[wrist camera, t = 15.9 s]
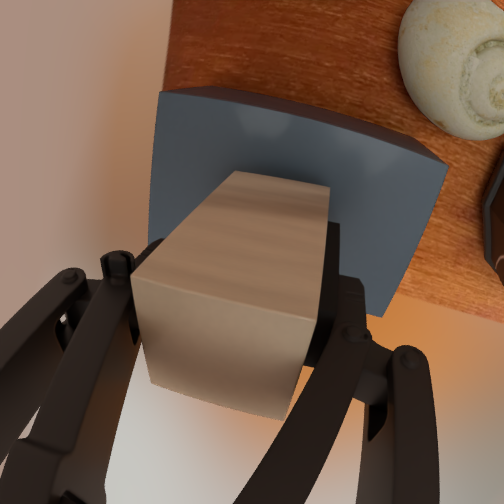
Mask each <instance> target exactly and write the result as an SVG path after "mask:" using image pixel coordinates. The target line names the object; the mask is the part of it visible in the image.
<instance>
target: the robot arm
mask: <svg viewBox="0 0 504 504" xmlns="http://www.w3.org/2000/svg"><path fill="white" fill-rule="evenodd" d="M164 240H165V239H164V238H160V239H158V240H156V241H154V242H152V243H151V244H150V245H149V246H148V247H147V248H146V249H145V250H144V251H143V252H142V253H141V254H140V255H139V256H138V257H137V258H136V259H134V256H133V254H131V253H130V252H128V251H123V250H122V251H121V250H119V251H112V252H109V253H107V254H105V255H103V256H102V257H101V258H100V261H101V267H102V272H103V277H104V278H103V279H102V280H94V279H86V274H85V273H84V271H83V270H82V269H80V268H68V269H65V270H62V271H61V272H59V273H58V274H57V275H56V276H55V277H53V278H52V279H51V280H50V281H49V282H48V283H47V284H46V285H45V286H44V287H43V288H42V289H40V290H39V291H38V292H37V293H36V294H35V295H34V296H33V297H32V298H31V299H30V300H29V301H28V302H27V303H26V304H25V305H24V306H23V307H22V308H21V309H20V310H19V311H18V312H17V313H16V314H15V315H14V316H13V317H12V318H11V319H10V320H9V321H8V322H7V323H6V324H5V325H4V326H3V327H2V328H1V329H0V465H1V463H2V462H3V460H4V459H5V457H6V456H7V454H8V453H9V454H8V457H7V460H6V463H5V466H4V469H3V472H2V475H1V478H0V504H106V493H105V488H104V487H105V486H104V484H105V478H106V473H107V468H108V464H109V460H110V456H111V451H112V447H113V443H114V439H115V435H116V431H117V427H118V423H119V419H120V415H121V411H122V407H123V404H124V400H125V397H126V393H127V389H128V386H129V382H130V378H131V375H132V371H133V368H134V365H135V361H136V358H137V355H138V352H139V348H140V345H141V342H142V340H141V335H140V330H139V325H138V320H137V314H136V309H135V303H134V297H133V291H132V285H131V278H130V276H131V274H132V273H133V272H134V271H135V270H136V269H137V268H138V267H139V266H140V265H141V264H142V262H143V261H144V260H145V259H146V258H147V257H148V256H149V255H150V254H151V253H152V252H153V251H154V250H155V249H156V248H157V247H158V246H159V245H160V244H161V243H162V242H163V241H164ZM339 264H340V223H336V222H331V221H328V223H327V234H326V245H325V255H324V265H323V274H322V283H321V292H320V300H319V308H318V315H317V322H316V325H315V329H314V332H313V335H312V338H311V342H310V345H309V348H308V351H307V354H306V358H305V361H304V364H303V365H304V366H309V367H314V370H313V372H312V374H311V376H310V378H309V380H308V382H307V383H306V385H305V387H304V389H303V391H302V393H301V394H300V396H299V398H298V400H297V402H296V403H295V405H294V407H293V409H292V411H291V412H290V414H289V416H288V418H287V419H286V421H285V423H284V424H283V426H282V428H281V430H280V431H279V433H278V435H277V437H276V438H275V440H274V441H273V443H272V445H271V446H270V448H269V449H268V451H267V453H266V454H265V456H264V458H263V459H262V461H261V463H260V464H259V465H258V467H257V469H256V470H255V472H254V473H253V475H252V476H251V478H250V479H249V481H248V482H247V484H246V485H245V487H244V488H243V490H242V491H241V493H240V494H239V495H238V497H237V498H236V500H235V501H234V503H233V504H304V503H305V501H306V499H307V498H308V496H309V494H310V492H311V490H312V488H313V486H314V484H315V482H316V480H317V478H318V476H319V474H320V472H321V470H322V468H323V466H324V463H325V461H326V459H327V457H328V455H329V452H330V450H331V448H332V446H333V444H334V441H335V439H336V437H337V434H338V432H339V430H340V427H341V425H342V423H343V420H344V418H345V415H346V413H347V410H348V408H349V405H350V403H351V400H352V398H355V399H357V400H360V401H362V402H364V403H365V409H364V427H363V441H362V452H361V464H360V473H359V482H358V490H357V497H356V504H439V501H440V500H439V498H440V492H439V491H440V488H439V456H438V455H439V454H438V439H437V427H436V416H435V407H434V398H433V391H432V384H431V376H430V370H429V364H428V361H427V358H426V356H425V355H424V354H423V353H422V351H420V350H419V349H417V348H416V347H413V346H410V345H402V346H399V347H397V348H396V349H395V350H394V351H391V350H389V349H387V348H384V347H382V346H380V345H379V344H377V343H376V342H375V341H373V340H372V335H371V333H370V331H369V330H368V329H367V325H366V324H367V323H366V304H365V288H364V285H363V284H362V282H361V281H360V279H359V278H355V277H350V276H345V275H340V274H339ZM64 314H65V317H66V320H65V321H64V322H62V323H61V321H60V318H61V317H62V315H64ZM39 407H40V408H39ZM38 408H39V411H38V414H37V416H36V419H35V421H34V424H33V426H32V429H31V431H30V434H29V435H28V437H26V438H22V439H18V438H19V436H20V435H21V433H22V432H23V430H24V429H25V427H26V426H27V424H28V423H29V421H30V420H31V418H32V417H33V416H34V414H35V413H36V411H37V410H38ZM17 439H18V440H17Z"/></svg>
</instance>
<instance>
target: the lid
mask: <svg viewBox="0 0 504 504" xmlns="http://www.w3.org/2000/svg"><path fill="white" fill-rule="evenodd" d="M448 168H449V166H448V165H447V164H446V163H444V162H442V161H439V160H437V159H434V158H432V157H430V156H427V155H424V154H422V153H419V152H417V151H414V150H412V149H409V148H406V147H403V146H401V145H398V144H395V143H392V142H389V141H387V140H384V139H381V138H378V137H375V136H372V135H369V134H366V133H362V132H359V131H356V130H353V129H350V128H346V127H343V126H339V125H336V124H333V123H329V122H325V121H322V120H318V119H314V118H310V117H307V116H303V115H299V114H294V113H290V112H286V111H282V110H277V109H273V108H268V107H263V106H259V105H254V104H249V103H243V102H238V101H232V100H227V99H221V98H215V97H208V96H201V95H194V94H187V93H179V92H170V91H160V92H159V99H158V107H157V116H156V124H155V135H154V144H153V156H152V170H151V183H150V200H149V201H150V202H149V225H148V246H149V245H150V244H151V243H152V242H154V241H156V240H158V239H160V238H164V239H166V238H167V236H168V235H169V234H170V233H171V232H172V231H173V230H174V229H175V228H176V227H177V226H178V225H179V224H180V223H181V222H182V221H183V220H184V219H185V218H186V217H187V216H188V215H189V214H190V213H191V212H192V211H193V210H194V209H195V208H196V207H198V206H199V205H200V204H201V203H202V202H203V201H204V200H205V199H206V198H207V197H208V196H209V195H210V194H211V193H212V192H213V191H214V190H215V189H216V188H217V187H218V186H219V185H220V184H221V183H222V182H224V181H225V180H226V179H227V178H228V177H229V176H230V175H231V174H232V173H233V172H234V171H241V172H248V173H254V174H260V175H266V176H272V177H278V178H284V179H289V180H295V181H300V182H305V183H311V184H316V185H321V186H326V187H330V197H329V210H328V221H331V222H336V223H340V264H339V274H340V275H345V276H350V277H355V278H359V279H360V281H361V282H362V284H363V285H364V288H365V304H366V314H370V315H374V316H377V317H382V316H383V315H384V313H385V311H386V309H387V307H388V305H389V303H390V302H391V300H392V298H393V296H394V294H395V292H396V290H397V288H398V286H399V284H400V282H401V280H402V278H403V276H404V274H405V272H406V270H407V268H408V265H409V263H410V261H411V259H412V257H413V255H414V253H415V250H416V248H417V246H418V244H419V241H420V239H421V237H422V235H423V232H424V230H425V228H426V225H427V223H428V220H429V218H430V216H431V213H432V211H433V208H434V206H435V203H436V200H437V198H438V195H439V193H440V190H441V187H442V185H443V182H444V179H445V176H446V173H447V171H448Z"/></svg>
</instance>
